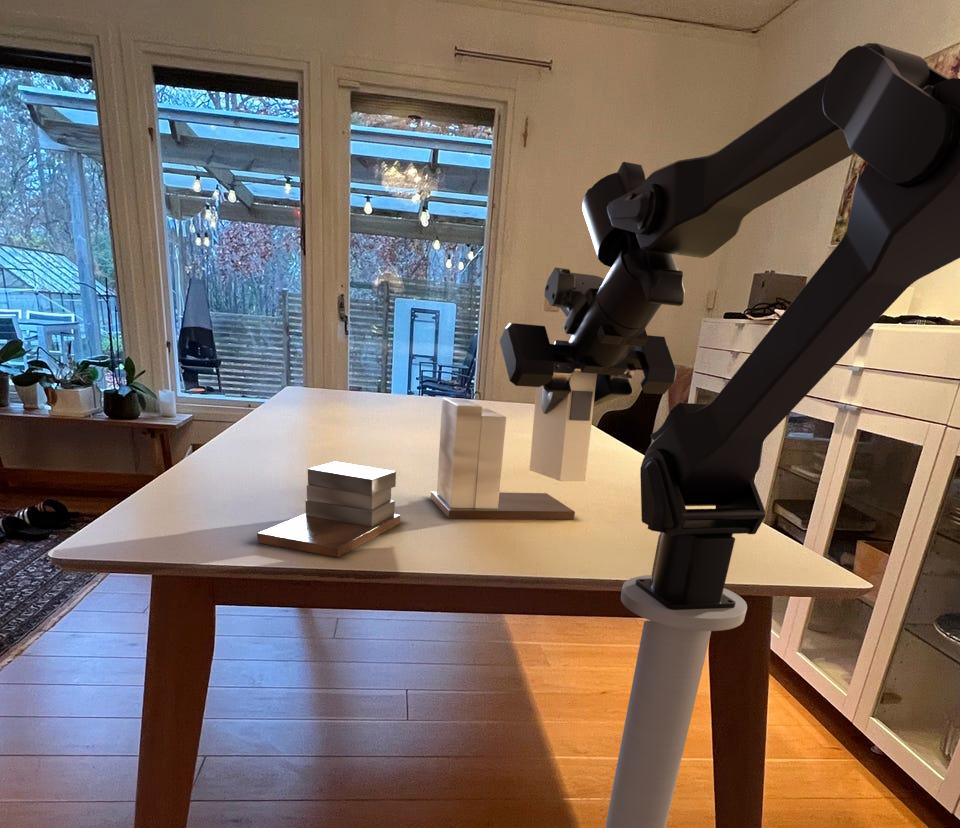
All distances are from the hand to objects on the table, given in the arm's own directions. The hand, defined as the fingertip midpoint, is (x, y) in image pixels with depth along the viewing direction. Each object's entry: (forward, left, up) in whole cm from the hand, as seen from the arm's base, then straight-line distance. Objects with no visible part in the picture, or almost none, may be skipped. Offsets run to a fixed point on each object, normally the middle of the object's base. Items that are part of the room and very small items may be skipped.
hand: (557, 411), depth 82 cm
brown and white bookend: (+8, +3, -13) cm, 16 cm away
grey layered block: (-3, +25, -13) cm, 29 cm away
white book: (-2, 0, -7) cm, 7 cm away
